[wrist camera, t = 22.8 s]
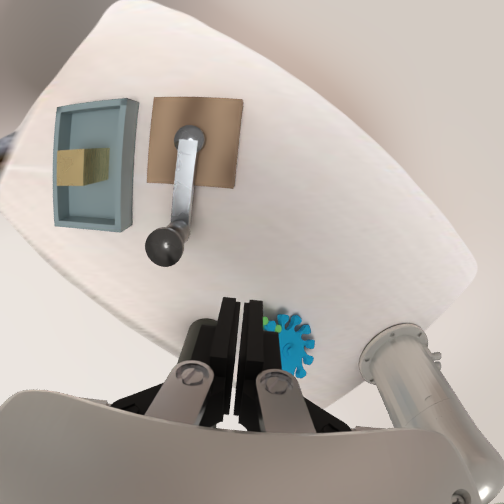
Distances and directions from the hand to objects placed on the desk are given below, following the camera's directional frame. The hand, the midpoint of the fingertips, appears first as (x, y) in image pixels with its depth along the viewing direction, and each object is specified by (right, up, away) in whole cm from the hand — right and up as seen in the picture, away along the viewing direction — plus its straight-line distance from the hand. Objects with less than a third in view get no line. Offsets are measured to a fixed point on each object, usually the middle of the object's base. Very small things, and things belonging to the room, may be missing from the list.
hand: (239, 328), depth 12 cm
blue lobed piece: (+5, -8, +28) cm, 29 cm away
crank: (-7, +11, +18) cm, 22 cm away
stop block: (-19, +14, +19) cm, 30 cm away
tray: (-19, +15, +20) cm, 31 cm away
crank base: (-6, +16, +19) cm, 26 cm away
